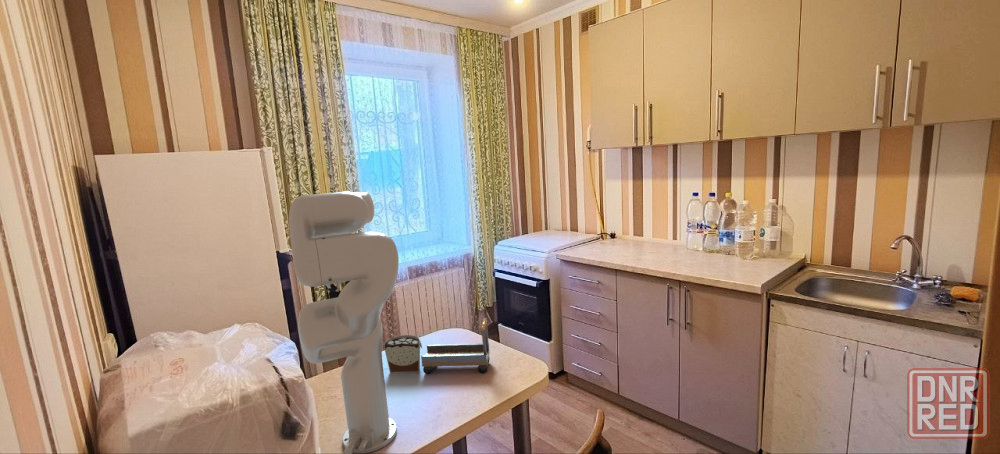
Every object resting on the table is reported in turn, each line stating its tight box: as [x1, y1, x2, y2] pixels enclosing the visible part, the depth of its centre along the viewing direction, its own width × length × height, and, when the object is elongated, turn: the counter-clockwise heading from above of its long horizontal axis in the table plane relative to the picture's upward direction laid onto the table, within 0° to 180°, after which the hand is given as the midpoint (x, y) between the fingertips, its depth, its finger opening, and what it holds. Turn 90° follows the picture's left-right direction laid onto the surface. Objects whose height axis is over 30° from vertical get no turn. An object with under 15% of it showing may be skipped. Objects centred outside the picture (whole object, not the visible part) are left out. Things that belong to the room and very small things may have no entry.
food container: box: [382, 334, 423, 374], centre depth 135 cm, size 12×6×10 cm, turn 85°
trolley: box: [420, 317, 491, 375], centre depth 132 cm, size 8×20×15 cm, turn 86°
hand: (344, 299), depth 119 cm, fingers open, 9 cm apart
